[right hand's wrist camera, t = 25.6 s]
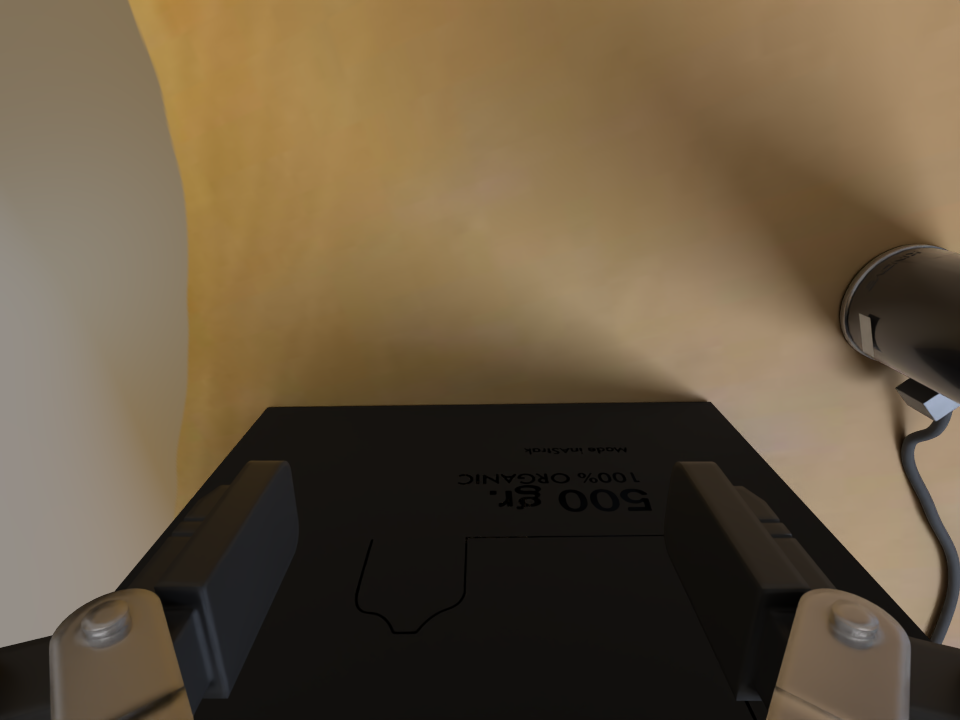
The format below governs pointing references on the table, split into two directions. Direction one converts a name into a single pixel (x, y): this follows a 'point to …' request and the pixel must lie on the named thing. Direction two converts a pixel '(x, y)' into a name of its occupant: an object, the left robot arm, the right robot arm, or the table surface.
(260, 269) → the table surface
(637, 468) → the cardboard box
